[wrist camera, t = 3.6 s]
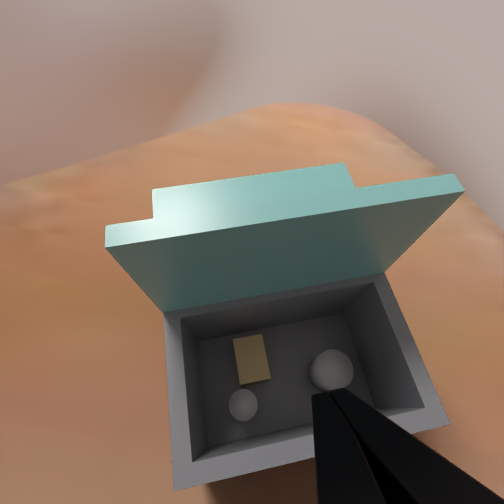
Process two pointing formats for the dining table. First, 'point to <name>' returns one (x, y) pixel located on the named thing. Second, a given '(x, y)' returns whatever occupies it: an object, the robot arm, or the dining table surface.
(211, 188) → the lid
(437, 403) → the tub
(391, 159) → the dining table surface
